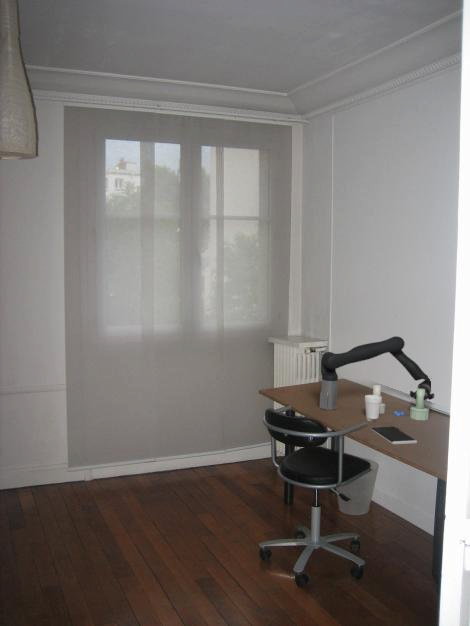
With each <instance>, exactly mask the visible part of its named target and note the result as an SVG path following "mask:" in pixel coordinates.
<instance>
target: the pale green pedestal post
mask: <svg viewBox="0 0 470 626" xmlns="http://www.w3.org/2000/svg"><path fill="white" fill-rule="evenodd" d="M416 390H417V395H416V399H415V405H414V406H411V407H410V409H409V418H410V419H413V420H415V421H416V420H417V421H427V420H429V415H430V414H429V412H430V409H429V407H426V406H425V400H424V396H425V389H422V388H418V387H417V388H416Z"/></svg>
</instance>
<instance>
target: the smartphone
mask: <svg viewBox="0 0 470 626" xmlns="http://www.w3.org/2000/svg"><path fill="white" fill-rule="evenodd" d="M370 430H371V431H373V432H374V433H375V434H377V435H379V436H380V437H381V438H383V439H384V440H386V441H388V442H389V443H390V444H392V445H410V444H411V445H412V444H418V440H416V439H414V438H413V437H411V435H410V436H409V435H408V434H406V433H405V432H403V431H401V430H400V429H398V428H396V427H395V426H392V425H391V426H371V427H370Z"/></svg>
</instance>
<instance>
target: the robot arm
mask: <svg viewBox="0 0 470 626" xmlns="http://www.w3.org/2000/svg"><path fill="white" fill-rule="evenodd" d="M404 348H405V340H404V339H403V338H402V337H400V336H397V335H395V336H392V337H390V338H387V339H386V340H385V339H384V340H382V341H375V342H370V343H369V342H368V343H365V344H360V345H358V346H355V347H353V348H351V349H350V350H347V351H345V352H341V353H334V352H332V351H326V352H324V353H323V354H322V356H321V361H320V375H321V391H320V393H319V409H323V410H325V409H326V410H325V411H328V410H329V411H332V410H333V409H334V410H336V409H337V406H338V405H337V403H338V402H337V401H338V400H337V399H338V382H339V379H338V378H339V376H338V373H337V369H339V368H341V367H344V366H347V365H350V364H354V363H358V362H362V361H363V362H364V361H367V360H368V361H369V360H371V359H374V358H376V357H379V356H381V355H383V354H387V353H389V354H390V355H391V356H393V358H395V359H396V360H397V361H398V362H399V364H401V365H402V366H403V368H404V369H406V372H408V373H409V376H411V377H412V379H413V380H414V381H420V380H422V382H420V383H419V384H418V385H417V388H422V389H425V396H424V401H427V400H432V399H434V398H435V393H432V390H431V381H430V379H429V378H428V376H429V375H427V374H426V373H425V372H424V371H423V370H422V368H421V367H420V366H419V365H418V364H417V362H416V361H414V360H413V359H411V358H410V357H408V356H407V355H406V353H405V352H404V351H403V349H404ZM416 395H417V389H416V390H415V391H412V390H410V391H409V397H410V398H412V399H414V400H416ZM334 410H333V411H334Z"/></svg>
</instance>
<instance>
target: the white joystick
mask: <svg viewBox="0 0 470 626" xmlns="http://www.w3.org/2000/svg"><path fill="white" fill-rule="evenodd" d="M381 393H382V385H381V384H379V383H373V386H372V395H377V396H381ZM381 397H382V396H381ZM385 412H386V404H385V403H384V402H383V401H382V402H381V407H380V412H379V415H380V414H381V415H382V414H384V413H385Z"/></svg>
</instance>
